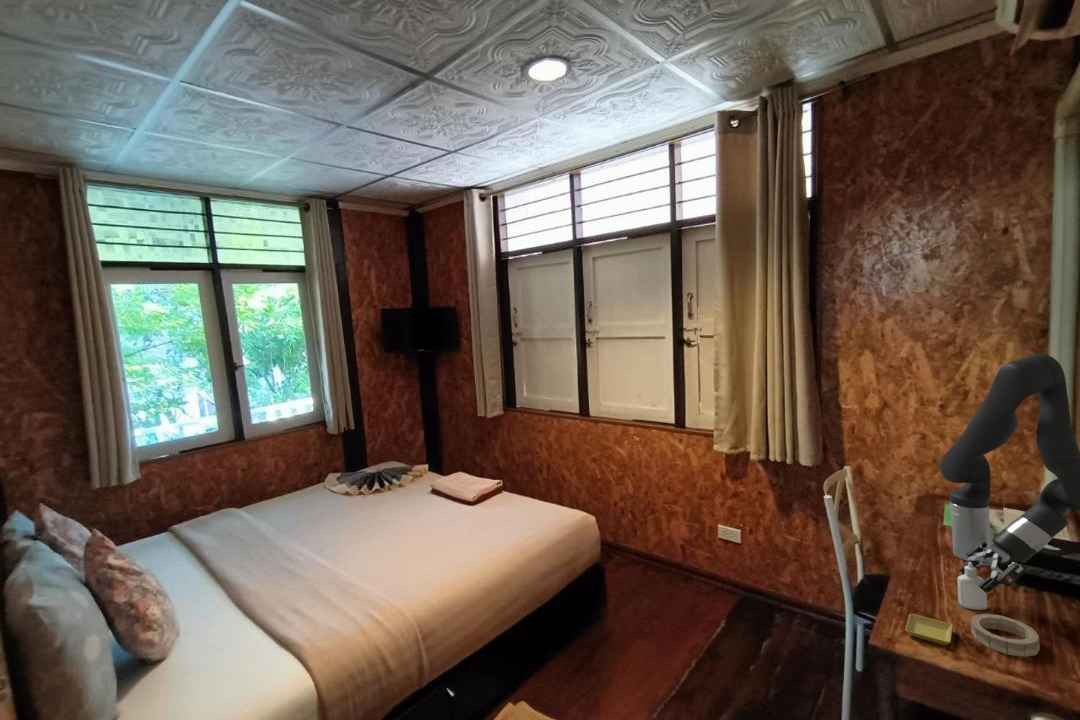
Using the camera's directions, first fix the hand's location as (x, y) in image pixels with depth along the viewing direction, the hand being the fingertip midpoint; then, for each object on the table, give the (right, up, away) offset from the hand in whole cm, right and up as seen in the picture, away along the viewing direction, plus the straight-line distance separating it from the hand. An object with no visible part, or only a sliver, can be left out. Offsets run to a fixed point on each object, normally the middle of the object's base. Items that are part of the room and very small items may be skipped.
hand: (971, 581), depth 128 cm
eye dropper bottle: (+1, -7, +1) cm, 7 cm away
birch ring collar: (-4, -8, -13) cm, 16 cm away
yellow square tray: (-18, -10, -8) cm, 22 cm away
